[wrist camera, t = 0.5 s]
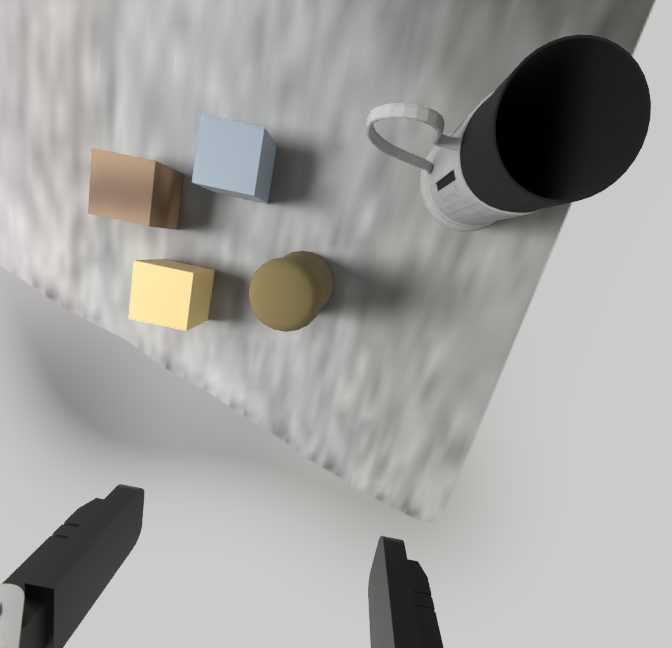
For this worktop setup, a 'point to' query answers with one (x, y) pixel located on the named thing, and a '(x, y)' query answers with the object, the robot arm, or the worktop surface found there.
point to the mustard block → (170, 293)
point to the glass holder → (532, 135)
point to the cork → (291, 290)
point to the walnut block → (134, 190)
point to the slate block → (234, 159)
